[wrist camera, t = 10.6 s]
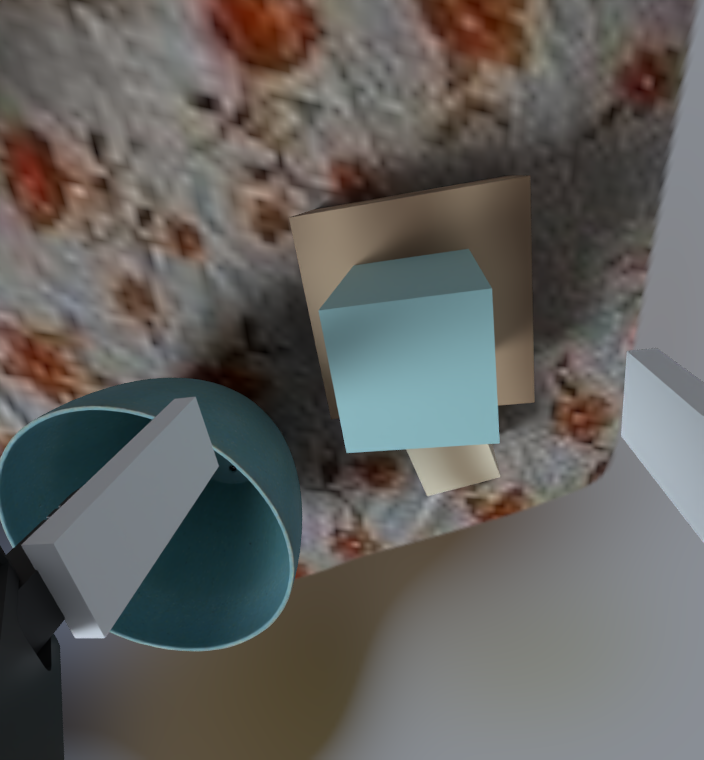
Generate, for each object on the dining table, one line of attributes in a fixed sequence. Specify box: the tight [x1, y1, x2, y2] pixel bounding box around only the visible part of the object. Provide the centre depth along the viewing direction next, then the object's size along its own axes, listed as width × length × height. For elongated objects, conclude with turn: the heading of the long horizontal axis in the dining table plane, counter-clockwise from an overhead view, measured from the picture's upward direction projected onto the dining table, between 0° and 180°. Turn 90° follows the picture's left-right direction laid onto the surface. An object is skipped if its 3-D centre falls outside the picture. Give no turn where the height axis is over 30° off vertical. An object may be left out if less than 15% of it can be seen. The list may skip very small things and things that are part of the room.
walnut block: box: [289, 175, 535, 419], centre depth 28 cm, size 12×12×6 cm
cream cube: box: [406, 444, 501, 496], centre depth 32 cm, size 5×5×5 cm
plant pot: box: [0, 378, 302, 651], centre depth 32 cm, size 18×18×12 cm
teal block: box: [318, 249, 500, 453], centre depth 21 cm, size 6×6×9 cm
